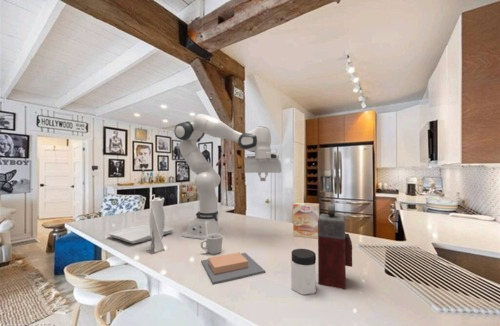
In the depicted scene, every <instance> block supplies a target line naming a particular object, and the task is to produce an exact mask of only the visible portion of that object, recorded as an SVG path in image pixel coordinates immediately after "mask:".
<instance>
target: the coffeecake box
mask: <svg viewBox="0 0 500 326" xmlns="http://www.w3.org/2000/svg"><path fill="white" fill-rule="evenodd" d="M292 205H293V206H292V210H293V212H292V213H293V214H292V215H293V217H292V218H293V219H292V224H293V225H292V226H293V227H292V228H293V230H292V231H293V233H292V234H293V237H298V238H308V239H316V240H318V219H319V216H320V203H314V202H313V203H311V202H297V201H296V202H294V203H293V204H292Z"/></svg>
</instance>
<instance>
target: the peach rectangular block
mask: <svg viewBox="0 0 500 326" xmlns="http://www.w3.org/2000/svg"><path fill="white" fill-rule="evenodd" d="M207 258H208V264H209V266H210V268H211V269H212V271H213V273H214V274H219V273H224V272H228V271H233V270H238V269H243V268H248V260H247V259H246V258H245V257H243V256H242V255H241V253H240V252H235V253H234V252H233V253H229V254H228V253H227V254H221V255H218V256H217V255H215V256H212V257H207Z"/></svg>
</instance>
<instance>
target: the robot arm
mask: <svg viewBox="0 0 500 326" xmlns="http://www.w3.org/2000/svg"><path fill="white" fill-rule="evenodd" d="M173 132H174V135H175V137H176V139H178V140H180V142H179V144H178V149H179V151H180V154H181V155H182V158H183V159H184V160H185V163H186V164H187V166H188V167H189V169H190V170H191V171H192V172H194V174H195V175H196V177H194V185H195V187H196V190H197V193H198V200H199V211H197V212H196V213H195V216H196V218H194V219H193V220H192V221H190V223H188V225H187V228H186V230H185V231H184V232H183V233H182V237H184V238H189V239H190V238H192V239H199V240H204V239H206V236H207V235H209V234H221V232H220V228H219V211H218V197H217V193H216V188H217V187H218V186H219V185H220V183H221V180H222V179H221V176H220V174H219V173H218V172H217V171H216V169H214V167H213V166H212V165H211V164H210V163H209V161H208V160H207V159H206V158H205V156H204V155H203V153H202V151H201V150H200V149H199V147H198V144H197V143H200V142H201V140H202V139H203V138H204V136H205V135H208V136H209V137H210V136H211V137H212V138H213V137H214V138H219V139H224V140H225V139H226V140H230V141H234V142H235V143H237V144H238V146H239V148H240V149H242V150H244V151H248V152H250V153H254V155H247V156H245V157H244V160H243V162H244V172H245V173H248V174H249V173H253V174H254V173H256V174H257V173H258V174H257V175H258V177H259V178H260V179H259V181H260V182H266V181H267V177H268V174H270V173H271V174H273V173H274V174H275V173H276V174H278V173H282V163H281V160H280V155H279V154H276V153H274V152H273V153H272V148H271V143H272V135H271V129H270V128H269V127H266V126H261V125H260V126H259V125H257V126H256V127H254V129H252V130H250V131H248V132H247V131H246V132H244V133H242V132H240V131H237V130H235V129H233V128H231V126H229V125H227V124H226V123H224V122H223V121H221V120H220V119H219V118H217V117H214V116H212V115H208V114H205V113H198V114H196V115H195V117H194V118H193V121H184V122H179V123H177V125H175V126H174V131H173ZM262 173H263V174H264V175H265V176H264V177H262V176H261V175H262Z"/></svg>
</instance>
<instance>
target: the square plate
mask: <svg viewBox="0 0 500 326" xmlns="http://www.w3.org/2000/svg"><path fill="white" fill-rule="evenodd" d="M174 229H175V228H172V227H167V226H164V232H163V236H165V235H168V234H170V233H172V232H173V231H174ZM106 234H107V235H108V236H109V237H111V238H115V239H117V240H120V241H124V242H127V243H129V244H139V242H140V243H144V242H146V240H147V241H149V239H150V240H151V236H150V225H149V223H146V224H141V225H136V226H130V227H126V228H122V229H118V230H114V231H111V232H107V233H106Z"/></svg>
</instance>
